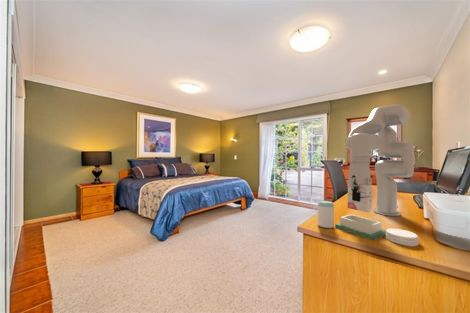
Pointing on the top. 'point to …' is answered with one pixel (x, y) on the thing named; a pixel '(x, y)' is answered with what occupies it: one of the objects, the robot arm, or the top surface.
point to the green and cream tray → (361, 226)
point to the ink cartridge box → (361, 198)
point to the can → (325, 214)
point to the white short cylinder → (402, 237)
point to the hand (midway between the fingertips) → (359, 199)
